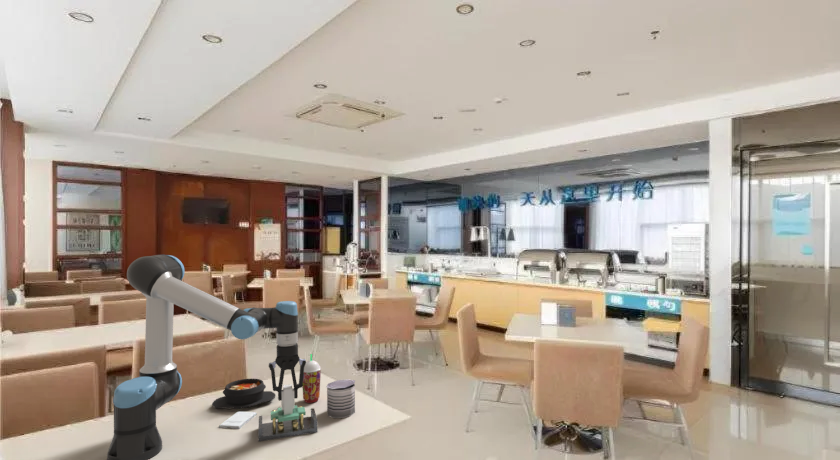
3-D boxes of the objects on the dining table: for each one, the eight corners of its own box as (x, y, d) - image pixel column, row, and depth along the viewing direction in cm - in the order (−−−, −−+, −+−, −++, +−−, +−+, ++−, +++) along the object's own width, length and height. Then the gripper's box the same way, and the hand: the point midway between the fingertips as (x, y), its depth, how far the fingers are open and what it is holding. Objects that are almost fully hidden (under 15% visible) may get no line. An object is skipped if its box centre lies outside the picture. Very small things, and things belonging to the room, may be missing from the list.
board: (270, 423, 151) (270, 394, 152) (270, 412, 161) (270, 384, 161) (306, 417, 156) (305, 389, 156) (303, 407, 165) (303, 380, 165)
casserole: (274, 392, 197) (274, 373, 197) (276, 407, 180) (276, 387, 180) (214, 400, 188) (214, 380, 188) (210, 417, 171) (210, 395, 171)
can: (340, 420, 166) (339, 389, 166) (320, 413, 173) (320, 383, 173) (361, 411, 175) (361, 381, 175) (342, 404, 182) (341, 376, 182)
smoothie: (299, 398, 188) (299, 353, 189) (319, 395, 192) (318, 350, 192) (303, 405, 181) (302, 357, 181) (323, 402, 184) (322, 355, 185)
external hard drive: (256, 416, 172) (239, 430, 160) (237, 415, 173) (218, 429, 161) (256, 412, 172) (239, 425, 160) (237, 411, 173) (218, 424, 161)
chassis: (258, 441, 150) (258, 422, 150) (258, 428, 160) (258, 410, 160) (317, 432, 156) (317, 414, 156) (314, 419, 167) (314, 403, 167)
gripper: (264, 348, 152) (264, 415, 152) (310, 344, 158) (311, 408, 157) (264, 343, 159) (264, 407, 159) (308, 339, 165) (309, 401, 164)
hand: (288, 407), depth 158 cm, fingers closed on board, 3 cm apart
